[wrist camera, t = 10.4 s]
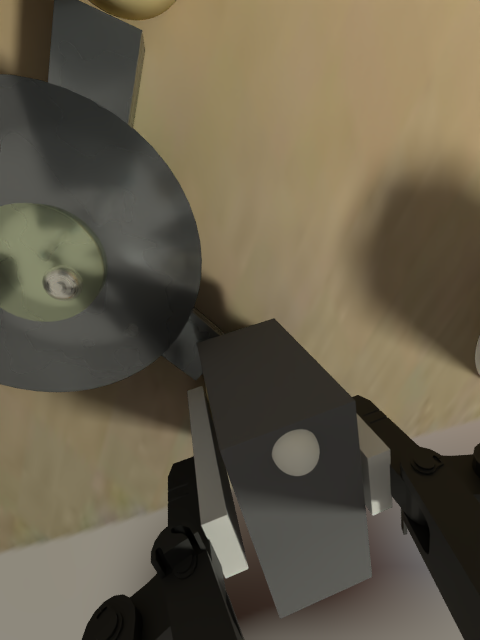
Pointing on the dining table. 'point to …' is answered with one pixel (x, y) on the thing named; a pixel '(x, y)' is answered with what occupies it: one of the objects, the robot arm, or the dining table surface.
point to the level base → (91, 221)
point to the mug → (477, 356)
